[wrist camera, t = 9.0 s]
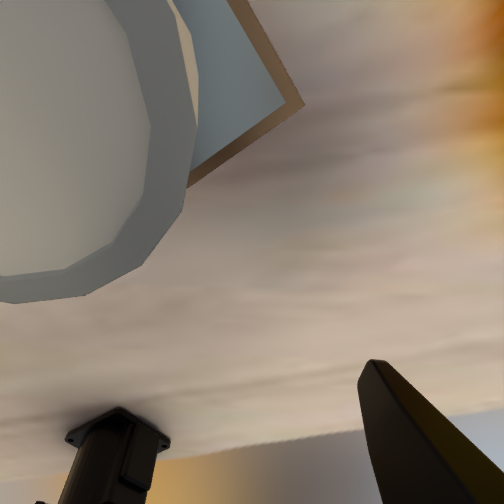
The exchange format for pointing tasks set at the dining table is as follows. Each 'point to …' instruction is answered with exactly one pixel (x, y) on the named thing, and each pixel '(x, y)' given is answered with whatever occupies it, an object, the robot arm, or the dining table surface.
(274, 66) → the walnut plinth
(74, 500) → the robot arm
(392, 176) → the dining table surface
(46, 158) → the shot glass
